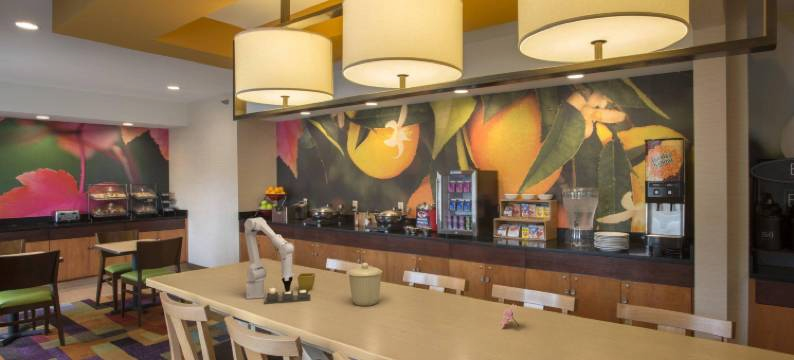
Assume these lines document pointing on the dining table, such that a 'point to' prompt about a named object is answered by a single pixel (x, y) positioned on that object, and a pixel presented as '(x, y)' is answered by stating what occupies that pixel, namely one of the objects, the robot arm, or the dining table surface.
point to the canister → (365, 284)
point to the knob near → (272, 291)
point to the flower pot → (306, 281)
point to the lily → (508, 315)
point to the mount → (287, 298)
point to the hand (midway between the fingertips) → (287, 291)
